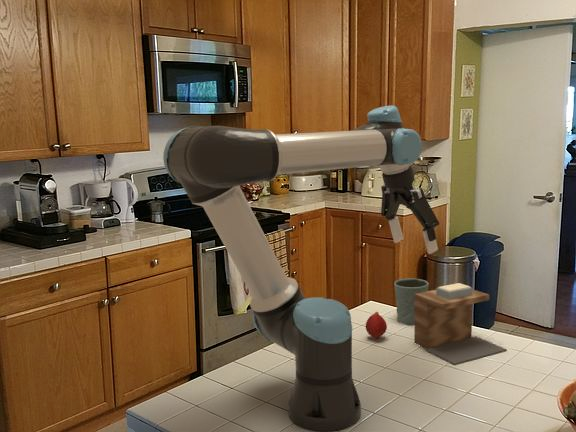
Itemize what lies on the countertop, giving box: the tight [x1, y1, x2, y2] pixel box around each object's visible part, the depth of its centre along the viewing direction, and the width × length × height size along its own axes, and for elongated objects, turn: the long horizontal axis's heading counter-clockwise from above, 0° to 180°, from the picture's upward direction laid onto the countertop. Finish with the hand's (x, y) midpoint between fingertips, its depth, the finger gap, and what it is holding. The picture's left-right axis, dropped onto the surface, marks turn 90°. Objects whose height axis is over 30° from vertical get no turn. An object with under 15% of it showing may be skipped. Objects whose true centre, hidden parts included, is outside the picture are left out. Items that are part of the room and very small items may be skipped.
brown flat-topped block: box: [413, 289, 490, 350], centre depth 154 cm, size 16×11×14 cm
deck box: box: [435, 282, 474, 300], centre depth 152 cm, size 8×5×2 cm, turn 117°
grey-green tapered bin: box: [393, 278, 430, 326], centre depth 174 cm, size 10×10×12 cm
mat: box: [424, 336, 508, 366], centre depth 150 cm, size 18×11×1 cm, turn 117°
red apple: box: [365, 311, 388, 340], centre depth 160 cm, size 6×6×8 cm
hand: (415, 246), depth 147 cm, fingers open, 13 cm apart
